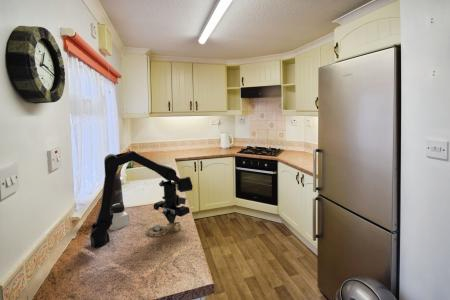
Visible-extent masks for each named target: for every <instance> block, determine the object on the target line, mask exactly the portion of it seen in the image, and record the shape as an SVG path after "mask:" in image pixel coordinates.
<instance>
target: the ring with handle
mask: <svg viewBox="0 0 450 300" xmlns="http://www.w3.org/2000/svg"><path fill="white" fill-rule="evenodd" d="M176 224H177V225H178V231H181V230H182V224H181V221H177V222H176V221H174V223H169V222H167V223H166V226H165V225H160V224H159V225H160V226H161V231H159V232H155V229H154V226H151V227H150V228H148V230H147V235H148V236H150V237H160V236H164V235H166V234H167V233H169V232H175V228H174V225H176Z"/></svg>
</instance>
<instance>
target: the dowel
mask: <svg viewBox="0 0 450 300" xmlns="http://www.w3.org/2000/svg"><path fill="white" fill-rule="evenodd" d="M174 228H175V231H174V233H178V232H179V230H178V225H177V224H176V225H174Z"/></svg>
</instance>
